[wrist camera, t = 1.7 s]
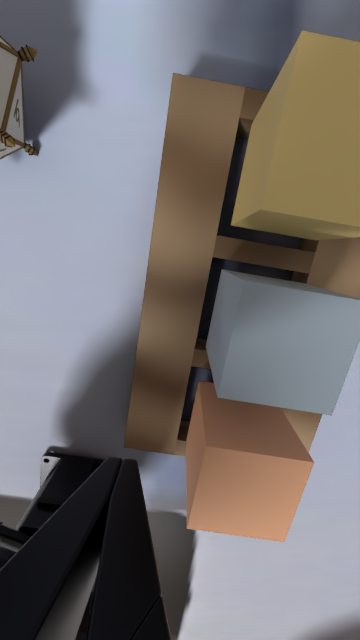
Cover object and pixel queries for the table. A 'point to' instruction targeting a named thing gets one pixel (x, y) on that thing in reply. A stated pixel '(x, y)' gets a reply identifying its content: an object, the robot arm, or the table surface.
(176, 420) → the wooden slotted tray
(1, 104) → the game die
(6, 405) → the table surface
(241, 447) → the orange brown block
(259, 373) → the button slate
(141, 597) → the robot arm
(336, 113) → the olive yellow block
